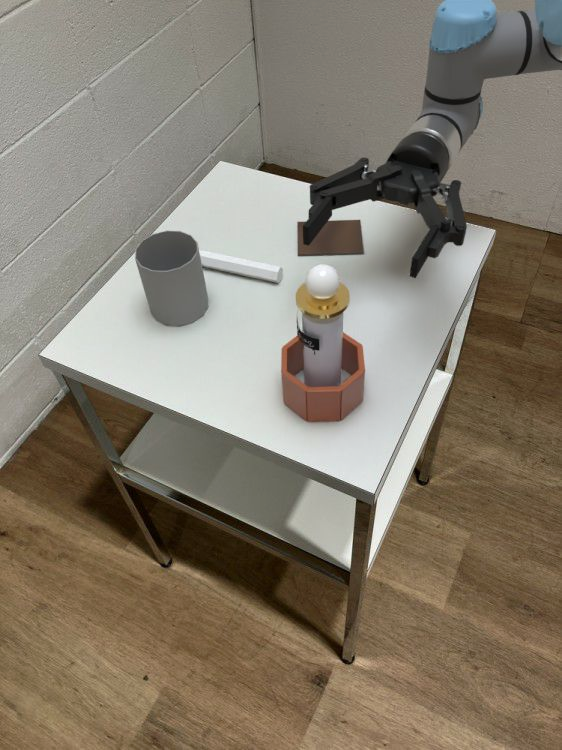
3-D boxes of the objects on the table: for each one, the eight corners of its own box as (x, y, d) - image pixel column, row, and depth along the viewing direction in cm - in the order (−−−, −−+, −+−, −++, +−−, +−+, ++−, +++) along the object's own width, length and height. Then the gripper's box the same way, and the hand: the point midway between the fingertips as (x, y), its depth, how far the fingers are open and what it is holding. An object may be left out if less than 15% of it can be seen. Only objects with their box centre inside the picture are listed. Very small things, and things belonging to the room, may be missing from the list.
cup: (220, 297, 92) (210, 242, 84) (185, 334, 87) (171, 279, 80) (174, 278, 95) (161, 223, 87) (138, 312, 91) (121, 258, 83)
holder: (359, 359, 83) (361, 327, 78) (364, 420, 77) (367, 390, 72) (284, 361, 83) (281, 329, 79) (283, 422, 77) (280, 392, 73)
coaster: (360, 221, 101) (360, 219, 101) (363, 254, 96) (363, 252, 96) (297, 223, 102) (297, 221, 102) (297, 256, 97) (297, 254, 96)
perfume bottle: (327, 365, 83) (328, 242, 67) (354, 394, 79) (362, 272, 64) (290, 385, 81) (283, 264, 65) (317, 415, 78) (316, 295, 62)
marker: (184, 262, 98) (281, 281, 94) (177, 264, 96) (276, 284, 92) (185, 245, 97) (283, 264, 93) (178, 247, 95) (278, 266, 91)
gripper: (509, 204, 84) (457, 307, 72) (337, 161, 92) (266, 247, 81) (523, 153, 78) (469, 256, 67) (338, 112, 86) (262, 197, 75)
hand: (357, 251), depth 74 cm, fingers open, 13 cm apart
